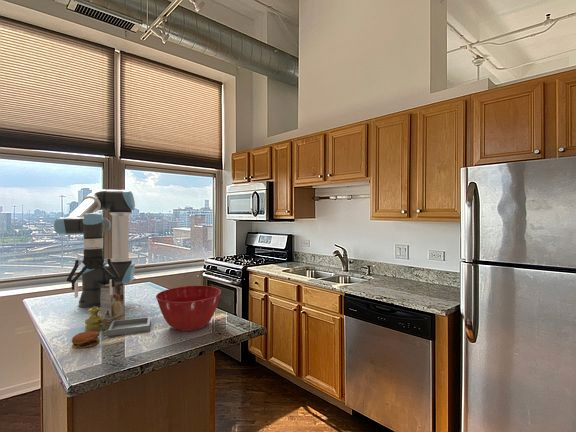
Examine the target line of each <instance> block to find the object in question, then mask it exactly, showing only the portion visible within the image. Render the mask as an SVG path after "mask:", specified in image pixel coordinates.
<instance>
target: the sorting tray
mask: <svg viewBox="0 0 576 432" xmlns="http://www.w3.org/2000/svg"><path fill="white" fill-rule="evenodd" d="M150 327H151V316H143V317H135V318H126V319H125V318H124V319H114V320H111V323H110V326H109V327H108V329H107V335H108V337H113V336H120V335H128V334H129V335H130V334H137V333H146V332H150V329H151V328H150Z"/></svg>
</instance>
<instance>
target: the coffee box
mask: <svg viewBox="0 0 576 432" xmlns="http://www.w3.org/2000/svg"><path fill="white" fill-rule="evenodd" d="M124 285H125V284H123V283H115V286H114V287H112V293H113V294H112V295H110V284H107V285H104V286H100V300H101V306H100V308H101V310H100V316H101V317H103V318H104V320H111V321H113V319H114V320H115V319H116V318H118V317H121V316H123V315H124V314H125V296H124V295H125V294H124V293H125V292H124V287H125V286H124Z"/></svg>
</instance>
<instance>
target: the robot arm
mask: <svg viewBox="0 0 576 432" xmlns="http://www.w3.org/2000/svg"><path fill="white" fill-rule="evenodd" d="M135 209H136V201H135V197H134V194H133V192H132V191H131V190H130V189H100V190H99V189H98V190H95V191H94V192H91V193H89V194H87V195H86V196H85V197H83V198H82V200H81V203H80V204H79V205H78V206H77V207H76V208H74V210H72V211H71V212H70V213H69V214H68V215H67V216H66V217H57V218H55V220H54V223H53V228H54V231H55V233H56V234H58V235H81V234H83V248H84V249H83V259H80V258H79V259H78V258H77V259H76V260H75V261H74V266H73V268H72V269H71V271H70V273H69V274H68V276H67V278H66V282H68V283H71V290H72V291H74V299H76V298H78V297H79V282H78V279H79V278H80V277H81V285H82V286H81V289H82V290H81V294H80V297H79V300H78V307H81V308H92V307H94V306H96V307H101V300H100V286H104V285H107V284H110V295H112V294H113V293H112V287H114V286H115V283H123V285H125V284H131V282H132V281H133V279H134V275H135V271H136V266H135V263H133V262H132V259H131V258H130V256H129V255H130V253H129V252H130V251H129V250H130V246H129V245H130V243H129V242H130V241H129V240H130V235H129V234H130V233H129V232H130V226H129V225H130V223H129V222H130V215H131V214H132V211H134V210H135ZM98 211H109V212H108V214H110V216H111V219H112V220H109V219H108V218H106V217H104V216H103V214H102V213H97V212H98ZM110 229H111V233H112V235H111V240H112V241H111V247H112V248H111V249H112V250H111V251H112V253H111V257H108V258H104V248H103V247H104V234H105V233H107V232H109V231H110ZM81 264H83V265H82V268H81V270H80V271H79V272H78V274H76V272H77V269H78V268H79V266H80V265H81ZM75 274H76V275H75ZM74 275H75V277H74ZM73 277H74V278H73Z"/></svg>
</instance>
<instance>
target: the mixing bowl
mask: <svg viewBox="0 0 576 432" xmlns="http://www.w3.org/2000/svg"><path fill="white" fill-rule="evenodd" d="M221 293H222V290H221V289H220V288H218V287H215V286H210V285H183V286H178V287H177V286H176V287H173V288H168V289H164V290H162V291H160V292H158V293H157V294H156V295H155V298H156V300H157V304H158V308H159V309H160V312H161V314H162V317H163V318H164V320H165V322H166V323H167V325H169V326H170V328H172V329H174V330H176V331H180V332H192V331H197V330H200V329H202V328H203V327H205V326H206V325H208V323H210V321H211V320H212V318H213V316H214V314H215V313H216V309H217V306H218V304H219V300H220V297H221Z"/></svg>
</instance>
